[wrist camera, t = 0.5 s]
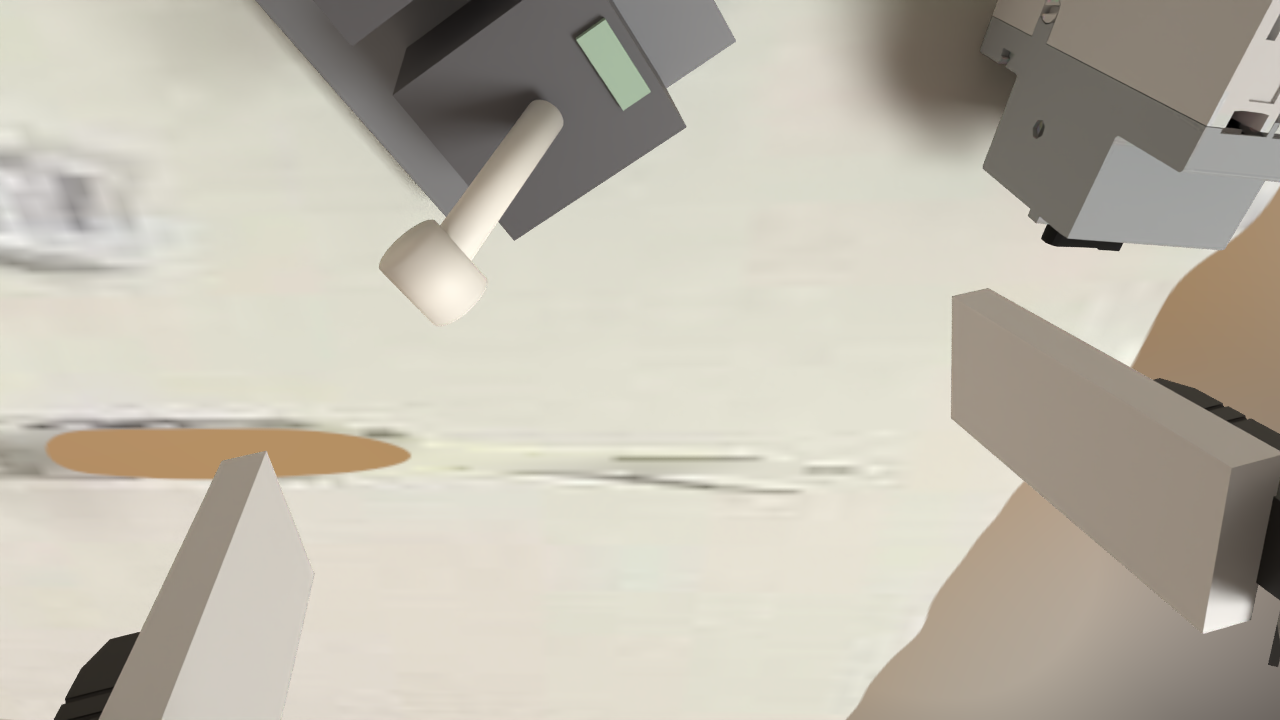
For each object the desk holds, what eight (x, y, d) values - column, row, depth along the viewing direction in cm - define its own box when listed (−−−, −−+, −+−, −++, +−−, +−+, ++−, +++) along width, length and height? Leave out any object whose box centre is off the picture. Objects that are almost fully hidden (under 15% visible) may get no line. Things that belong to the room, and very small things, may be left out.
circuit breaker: (937, 170, 45) (1102, 324, 33) (1048, -142, 37) (1321, -92, 25) (1063, 181, 46) (1266, 333, 34) (1196, -116, 38) (1522, -57, 26)
